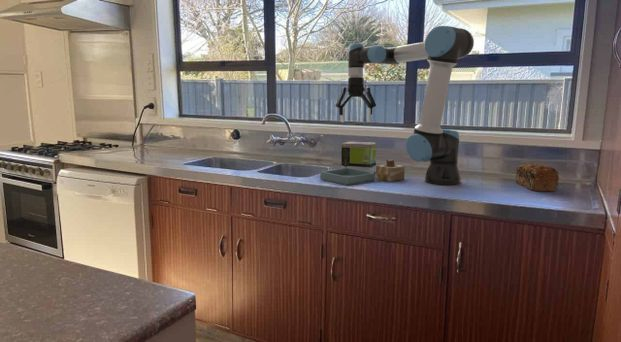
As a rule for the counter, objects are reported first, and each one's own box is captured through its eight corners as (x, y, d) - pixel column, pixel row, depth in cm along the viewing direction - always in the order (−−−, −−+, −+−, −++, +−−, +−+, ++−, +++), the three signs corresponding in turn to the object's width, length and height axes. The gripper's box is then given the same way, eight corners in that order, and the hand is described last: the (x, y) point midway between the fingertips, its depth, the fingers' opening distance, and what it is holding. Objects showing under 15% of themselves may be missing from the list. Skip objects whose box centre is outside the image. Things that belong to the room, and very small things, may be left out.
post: (393, 178, 206) (394, 160, 204) (389, 179, 204) (390, 160, 202) (389, 178, 208) (390, 159, 206) (385, 178, 206) (386, 159, 204)
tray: (374, 180, 201) (374, 173, 201) (347, 185, 191) (347, 177, 190) (346, 175, 214) (346, 167, 214) (320, 179, 204) (320, 171, 203)
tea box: (376, 172, 224) (377, 142, 221) (370, 175, 215) (370, 144, 212) (347, 169, 230) (348, 140, 228) (340, 172, 221) (341, 142, 219)
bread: (558, 192, 180) (560, 167, 178) (530, 191, 181) (532, 167, 179) (538, 183, 198) (541, 160, 197) (513, 182, 199) (515, 160, 198)
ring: (404, 179, 205) (404, 166, 204) (387, 182, 198) (388, 168, 197) (388, 176, 212) (389, 163, 211) (372, 179, 205) (372, 166, 204)
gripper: (376, 77, 222) (375, 120, 226) (328, 77, 215) (328, 122, 218) (383, 76, 215) (382, 121, 219) (334, 76, 208) (334, 122, 211)
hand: (355, 121), depth 218 cm, fingers open, 13 cm apart
